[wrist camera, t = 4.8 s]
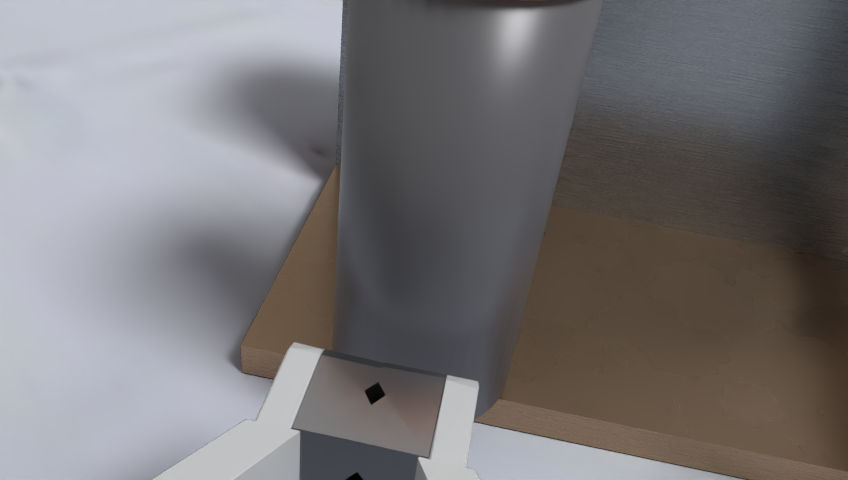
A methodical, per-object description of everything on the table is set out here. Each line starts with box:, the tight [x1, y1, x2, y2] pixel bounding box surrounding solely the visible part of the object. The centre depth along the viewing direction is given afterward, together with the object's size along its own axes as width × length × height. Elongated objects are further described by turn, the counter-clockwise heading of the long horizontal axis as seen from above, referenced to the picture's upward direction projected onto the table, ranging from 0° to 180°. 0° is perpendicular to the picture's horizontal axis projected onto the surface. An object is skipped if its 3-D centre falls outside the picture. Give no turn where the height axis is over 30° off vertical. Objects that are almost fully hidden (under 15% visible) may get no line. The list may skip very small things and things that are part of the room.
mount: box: [241, 0, 848, 480], centre depth 21 cm, size 23×14×11 cm, turn 80°
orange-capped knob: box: [332, 0, 603, 419], centre depth 19 cm, size 5×12×11 cm, turn 170°
